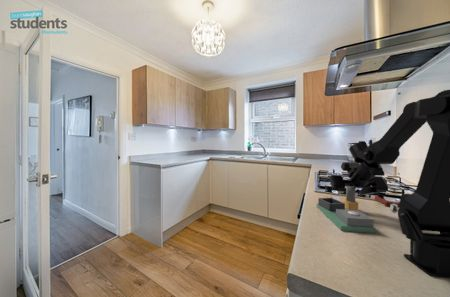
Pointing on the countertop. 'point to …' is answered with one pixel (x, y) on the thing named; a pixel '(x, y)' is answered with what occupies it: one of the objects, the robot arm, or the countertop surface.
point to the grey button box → (354, 218)
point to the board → (342, 225)
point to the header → (331, 204)
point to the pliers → (387, 203)
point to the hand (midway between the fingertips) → (349, 193)
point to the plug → (350, 199)
